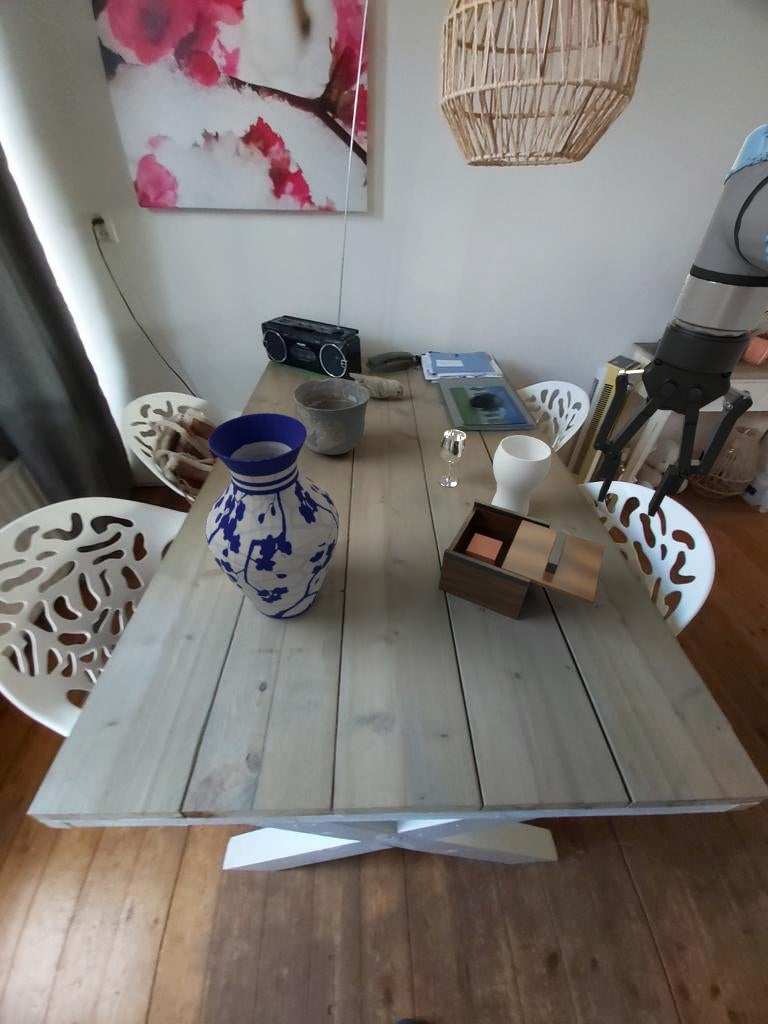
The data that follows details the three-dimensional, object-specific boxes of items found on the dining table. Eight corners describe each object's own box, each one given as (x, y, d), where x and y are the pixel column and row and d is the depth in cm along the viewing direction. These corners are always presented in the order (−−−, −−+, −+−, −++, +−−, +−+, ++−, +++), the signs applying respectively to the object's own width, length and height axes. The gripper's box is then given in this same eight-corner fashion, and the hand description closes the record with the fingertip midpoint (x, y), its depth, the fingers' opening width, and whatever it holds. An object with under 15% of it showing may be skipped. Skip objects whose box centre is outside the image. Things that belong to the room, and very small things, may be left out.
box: (516, 620, 71) (529, 582, 65) (438, 588, 75) (444, 551, 70) (538, 559, 82) (551, 522, 76) (468, 535, 86) (475, 499, 81)
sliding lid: (592, 605, 63) (598, 592, 62) (500, 571, 68) (503, 558, 66) (603, 549, 73) (608, 536, 71) (521, 523, 77) (524, 510, 76)
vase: (272, 664, 64) (231, 500, 45) (205, 592, 74) (149, 433, 55) (366, 592, 74) (365, 436, 55) (297, 538, 84) (276, 390, 65)
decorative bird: (402, 404, 131) (403, 379, 126) (348, 400, 132) (348, 376, 127) (403, 396, 135) (404, 372, 130) (351, 393, 136) (350, 369, 131)
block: (489, 580, 76) (495, 560, 73) (462, 570, 78) (466, 550, 75) (497, 562, 80) (502, 541, 76) (471, 552, 81) (475, 532, 78)
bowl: (375, 435, 116) (376, 380, 106) (363, 472, 102) (363, 413, 93) (310, 429, 118) (305, 374, 108) (289, 464, 104) (281, 405, 95)
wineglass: (432, 484, 99) (437, 438, 92) (440, 472, 103) (446, 426, 96) (456, 491, 97) (464, 444, 90) (464, 478, 101) (471, 432, 94)
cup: (505, 488, 99) (519, 428, 89) (545, 511, 93) (565, 450, 83) (473, 506, 93) (485, 444, 84) (514, 532, 87) (531, 469, 78)
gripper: (814, 330, 44) (702, 509, 59) (616, 303, 51) (560, 470, 65) (832, 352, 39) (704, 543, 54) (609, 319, 45) (550, 497, 60)
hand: (625, 503), depth 59 cm, fingers open, 6 cm apart
